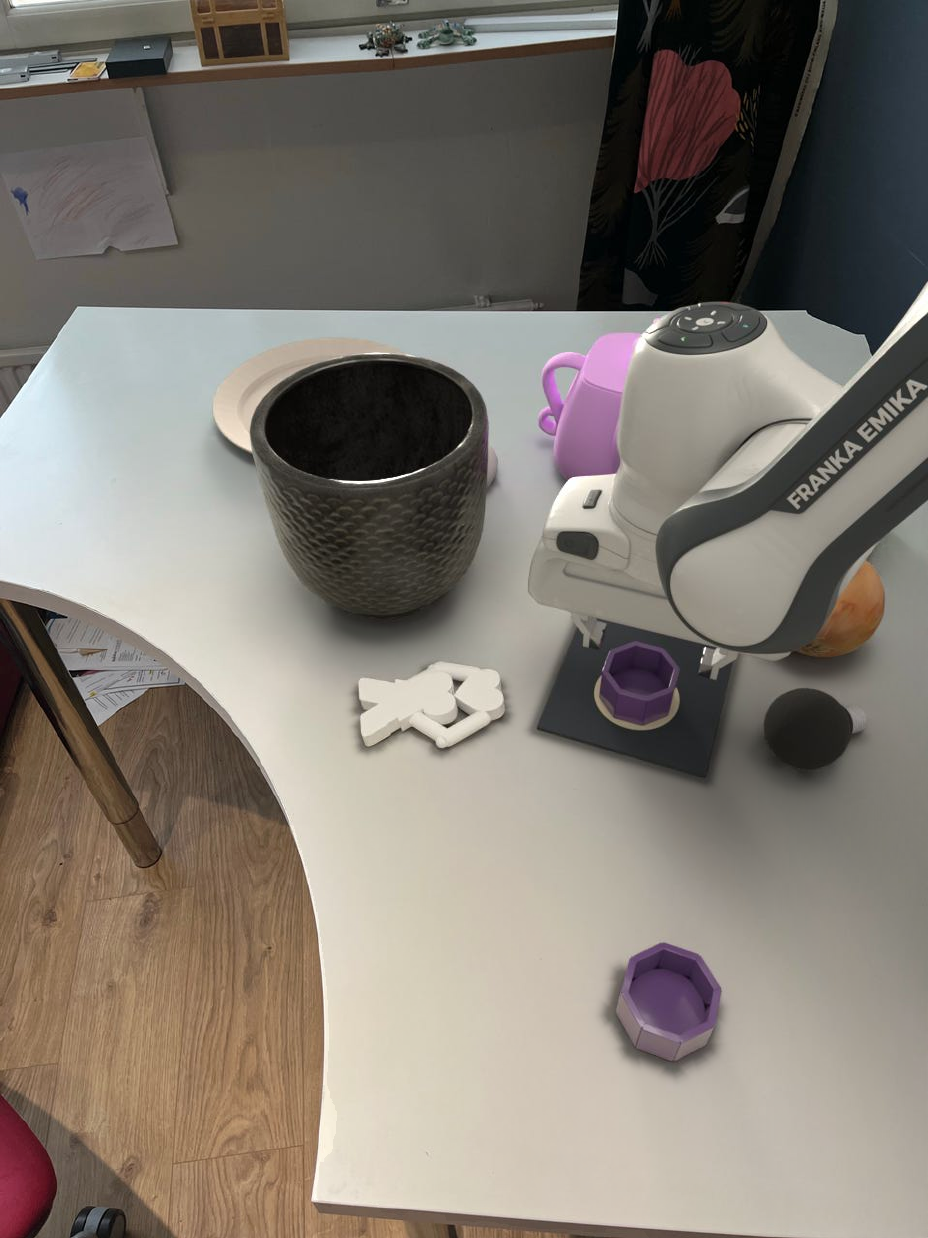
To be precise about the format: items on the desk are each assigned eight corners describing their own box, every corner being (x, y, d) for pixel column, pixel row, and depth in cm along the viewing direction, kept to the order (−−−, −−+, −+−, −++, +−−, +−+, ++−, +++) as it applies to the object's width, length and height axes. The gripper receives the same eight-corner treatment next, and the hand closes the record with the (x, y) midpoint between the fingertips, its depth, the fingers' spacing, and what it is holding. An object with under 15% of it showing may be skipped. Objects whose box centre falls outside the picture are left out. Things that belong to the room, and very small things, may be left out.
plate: (409, 484, 100) (408, 469, 98) (184, 465, 103) (179, 451, 101) (448, 357, 117) (448, 343, 115) (254, 345, 120) (251, 331, 118)
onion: (862, 606, 86) (896, 525, 79) (869, 688, 79) (908, 608, 72) (755, 592, 87) (778, 511, 80) (753, 671, 81) (779, 591, 74)
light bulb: (908, 706, 73) (827, 722, 67) (876, 772, 75) (796, 792, 70) (843, 665, 77) (762, 677, 72) (815, 728, 80) (735, 744, 75)
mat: (752, 578, 89) (753, 575, 88) (704, 778, 74) (705, 775, 73) (610, 545, 92) (611, 542, 92) (536, 729, 77) (536, 726, 77)
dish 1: (678, 679, 80) (684, 653, 77) (663, 732, 76) (669, 707, 74) (611, 661, 82) (615, 635, 79) (593, 712, 78) (596, 687, 75)
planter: (471, 503, 97) (468, 340, 83) (506, 641, 84) (509, 474, 70) (283, 526, 95) (248, 363, 82) (288, 670, 82) (247, 505, 68)
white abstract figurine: (511, 738, 76) (508, 723, 74) (367, 764, 76) (362, 749, 74) (495, 657, 82) (493, 642, 80) (362, 681, 82) (357, 666, 80)
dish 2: (717, 984, 62) (727, 963, 60) (700, 1072, 59) (709, 1054, 56) (630, 953, 64) (636, 932, 62) (608, 1038, 60) (613, 1019, 58)
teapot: (595, 535, 93) (608, 416, 83) (515, 423, 107) (517, 308, 96) (758, 489, 98) (790, 370, 87) (661, 387, 111) (679, 273, 101)
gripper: (830, 531, 64) (787, 661, 74) (548, 474, 70) (543, 602, 80) (819, 592, 60) (775, 721, 70) (521, 526, 66) (520, 654, 76)
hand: (650, 657), depth 75 cm, fingers open, 8 cm apart
